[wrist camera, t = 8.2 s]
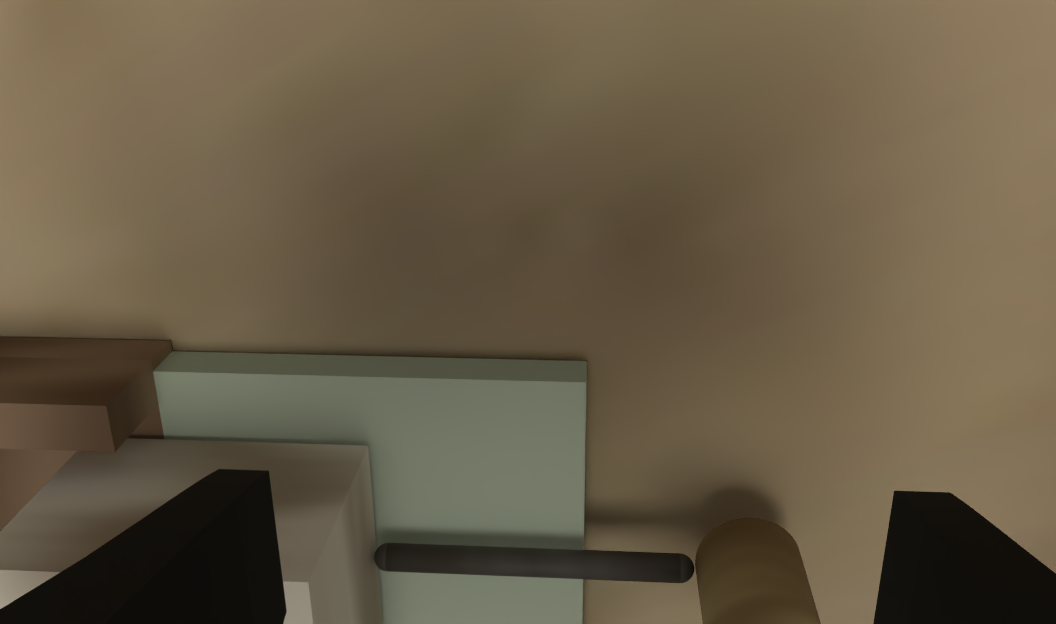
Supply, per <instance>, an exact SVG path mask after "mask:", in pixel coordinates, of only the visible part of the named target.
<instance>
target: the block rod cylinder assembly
mask: <svg viewBox="0 0 1056 624" xmlns="http://www.w3.org/2000/svg"><path fill="white" fill-rule="evenodd" d="M218 469H236V470H266V471H269V476H270V483H271V491H272V499H273V507H274V515H275V523H276V531H277V539H278V547H279V554H280V562H281V570H282V578H283V586H284V594H285V602H286V610H287V612H286V616H285V619H284V622H283V624H383V623H382V610H381V598H380V586H379V573H378V568H379V569H381V570H383V571H388V572H413V573H438V574H464V575H489V576H514V577H539V578H565V579H590V580H615V581H641V582H666V583H684V582H686V581H688V580H689V579H690V578H691V577H692V575H693V573H694V565H693V562H692V560H691V559H690V558H689V557H688V556H686V555H684V554H678V553H651V552H624V551H598V550H571V549H544V548H517V547H491V546H464V545H437V544H411V543H384V544H382V545H380V546H379V547H378V548H377V549H376V536H375V524H374V512H373V499H372V487H371V475H370V462H369V450H368V446H366V445H333V444H300V443H267V442H234V441H201V440H169V439H136V438H127V439H126V440H125V442H124V443H123V444H122V445H121V446H120V447H119V448H118V449H117V451H116V452H95V451H77V452H76V453H75V454H74V455H73V456H72V457H71V458H70V459H69V460H68V461H67V462H66V463H65V464H64V466H63V467H62V468H61V469H60V470H59V471H58V472H57V473H56V474H55V475H54V476H53V477H52V478H51V479H50V480H49V481H48V482H47V483H46V484H45V485H44V486H43V487H42V489H41V490H40V491H39V492H38V493H37V494H36V495H35V496H34V497H33V498H32V499H31V500H30V501H29V502H28V503H27V504H26V505H25V506H24V507H23V508H22V509H21V510H20V511H19V513H18V514H17V515H16V516H15V517H14V518H13V519H12V520H11V521H10V522H9V523H8V524H7V525H6V526H5V527H4V528H3V529H2V530H1V531H0V609H1V608H3V607H5V606H6V605H8V604H10V603H11V602H13V601H14V600H16V599H18V598H19V597H21V596H23V595H24V594H26V593H27V592H29V591H31V590H32V589H34V588H36V587H37V586H39V585H40V584H42V583H44V582H45V581H47V580H49V579H50V578H52V577H54V576H55V575H57V574H58V573H60V572H62V571H63V570H65V569H67V568H68V567H70V566H71V565H73V564H75V563H76V562H78V561H80V560H81V559H83V558H84V557H86V556H87V555H89V554H90V553H92V552H93V551H95V550H96V549H98V548H99V547H101V546H102V545H104V544H105V543H107V542H108V541H110V540H111V539H113V538H114V537H116V536H117V535H119V534H120V533H122V532H123V531H125V530H126V529H128V528H129V527H131V526H132V525H134V524H135V523H137V522H138V521H140V520H141V519H142V518H144V517H145V516H147V515H148V514H150V513H151V512H153V511H154V510H156V509H157V508H159V507H160V506H162V505H163V504H164V503H166V502H167V501H169V500H170V499H172V498H173V497H175V496H176V495H178V494H179V493H181V492H182V491H184V490H185V489H187V488H188V487H190V486H191V485H193V484H194V483H196V482H198V481H199V480H201V479H202V478H204V477H206V476H207V475H209V474H211V473H213V472H214V471H216V470H218ZM695 567H696V574H697V582H698V590H699V597H700V605H701V613H702V620H703V624H821V623H820V619H819V616H818V613H817V609H816V606H815V602H814V599H813V596H812V592H811V589H810V585H809V582H808V578H807V575H806V572H805V568H804V565H803V561H802V558H801V555H800V551H799V548H798V546H797V543H796V542H795V540H794V539H793V537H792V536H791V535H790V534H789V533H788V532H787V531H786V530H785V529H783V528H782V527H780V526H778V525H776V524H774V523H772V522H769V521H766V520H761V519H754V518H744V519H737V520H733V521H730V522H727V523H724V524H722V525H720V526H718V527H717V528H715V529H714V530H712V531H711V532H710V533H709V534H708V535H707V536H706V537H705V538H704V539H703V541H702V542H701V544H700V546H699V548H698V550H697V553H696V559H695Z"/></svg>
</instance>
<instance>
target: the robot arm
mask: <svg viewBox="0 0 1056 624" xmlns="http://www.w3.org/2000/svg"><path fill="white" fill-rule="evenodd" d="M286 612H287V610H286V602H285V594H284V586H283V578H282V570H281V562H280V554H279V547H278V539H277V531H276V523H275V515H274V507H273V499H272V491H271V483H270V476H269V471H266V470H236V469H218V470H216V471H214V472H213V473H211V474H209V475H207V476H206V477H204V478H202V479H201V480H199V481H198V482H196V483H194V484H193V485H191V486H190V487H188V488H187V489H185V490H184V491H182V492H181V493H179V494H178V495H176V496H175V497H173V498H172V499H170V500H169V501H167V502H166V503H164V504H163V505H162V506H160V507H159V508H157V509H156V510H154V511H153V512H151V513H150V514H148V515H147V516H145V517H144V518H142V519H141V520H140V521H138V522H137V523H135V524H134V525H132V526H131V527H129V528H128V529H126V530H125V531H123V532H122V533H120V534H119V535H117V536H116V537H114V538H113V539H111V540H110V541H108V542H107V543H105V544H104V545H102V546H101V547H99V548H98V549H96V550H95V551H93V552H92V553H90V554H89V555H87V556H86V557H84V558H83V559H81V560H80V561H78V562H76V563H75V564H73V565H71V566H70V567H68V568H67V569H65V570H63V571H62V572H60V573H58V574H57V575H55V576H54V577H52V578H50V579H49V580H47V581H45V582H44V583H42V584H40V585H39V586H37V587H36V588H34V589H32V590H31V591H29V592H27V593H26V594H24V595H23V596H21V597H19V598H18V599H16V600H14V601H13V602H11V603H10V604H8V605H6V606H5V607H3V608H1V609H0V624H283V622H284V619H285V616H286ZM874 624H1056V573H1054V572H1053V571H1052V570H1050V569H1049V568H1048V567H1047V566H1045V565H1044V564H1043V563H1041V562H1040V561H1039V560H1037V559H1036V558H1035V557H1034V556H1032V555H1031V554H1030V553H1029V552H1027V551H1026V550H1025V549H1024V548H1022V547H1021V546H1020V545H1018V544H1017V543H1016V542H1015V541H1013V540H1012V539H1011V538H1010V537H1008V536H1007V535H1006V534H1004V533H1003V532H1002V531H1001V530H999V529H998V528H997V527H996V526H994V525H993V524H992V523H990V522H989V521H988V520H987V519H985V518H984V517H983V516H982V515H980V514H979V513H978V512H976V511H975V510H974V509H972V508H971V507H970V506H968V505H967V504H966V503H964V502H963V501H961V500H960V499H959V498H957V497H956V496H954V495H953V494H951V493H945V492H914V491H894V496H893V502H892V508H891V515H890V521H889V528H888V534H887V541H886V547H885V553H884V560H883V566H882V573H881V579H880V586H879V592H878V598H877V605H876V611H875V618H874Z"/></svg>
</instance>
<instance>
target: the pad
mask: <svg viewBox="0 0 1056 624" xmlns="http://www.w3.org/2000/svg"><path fill="white" fill-rule="evenodd" d="M153 375H154V381H155V387H156V392H157V398H158V404H159V410H160V416H161V422H162V427H163V433H164V439H169V440H201V441H234V442H267V443H300V444H333V445H366V446H368V450H369V462H370V475H371V487H372V499H373V512H374V524H375V536H376V549H377V548H378V547H379V546H380V545H382V544H384V543H411V544H437V545H464V546H491V547H517V548H544V549H571V550H584V517H585V452H586V387H587V361H561V360H519V359H477V358H435V357H393V356H351V355H310V354H268V353H226V352H184V351H172V352H171V353H170V354H169V355H168V356H167V357H166V358H165V359H164V360H163V361H162V362H161V364H160V365H159V366H158V367H157V368H156V369H155V370H154V371H153ZM378 573H379V586H380V598H381V610H382V623H383V624H583V582H584V579H565V578H539V577H514V576H489V575H464V574H438V573H413V572H388V571H383V570H381V569H379V568H378Z"/></svg>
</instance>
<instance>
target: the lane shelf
mask: <svg viewBox="0 0 1056 624" xmlns="http://www.w3.org/2000/svg"><path fill="white" fill-rule="evenodd" d="M171 352H172V346H171V341H160V340H117V339H73V338H30V337H0V531H1V530H2V529H3V528H4V527H5V526H6V525H7V524H8V523H9V522H10V521H11V520H12V519H13V518H14V517H15V516H16V515H17V514H18V513H19V511H20V510H21V509H22V508H23V507H24V506H25V505H26V504H27V503H28V502H29V501H30V500H31V499H32V498H33V497H34V496H35V495H36V494H37V493H38V492H39V491H40V490H41V489H42V487H43V486H44V485H45V484H46V483H47V482H48V481H49V480H50V479H51V478H52V477H53V476H54V475H55V474H56V473H57V472H58V471H59V470H60V469H61V468H62V467H63V466H64V464H65V463H66V462H67V461H68V460H69V459H70V458H71V457H72V456H73V455H74V454H75V453H76V452H77V451H95V452H116V451H117V449H118V448H119V447H120V446H121V445H122V444H123V443H124V442H125V440H126V439H127V438H136V439H164V433H163V427H162V422H161V416H160V410H159V404H158V398H157V392H156V387H155V381H154V375H153V371H154V370H155V369H156V368H157V367H158V366H159V365H160V364H161V362H162V361H163V360H164V359H165V358H166V357H167V356H168V355H169V354H170V353H171Z"/></svg>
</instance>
